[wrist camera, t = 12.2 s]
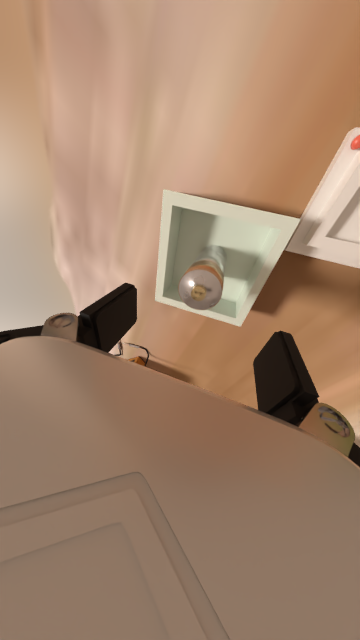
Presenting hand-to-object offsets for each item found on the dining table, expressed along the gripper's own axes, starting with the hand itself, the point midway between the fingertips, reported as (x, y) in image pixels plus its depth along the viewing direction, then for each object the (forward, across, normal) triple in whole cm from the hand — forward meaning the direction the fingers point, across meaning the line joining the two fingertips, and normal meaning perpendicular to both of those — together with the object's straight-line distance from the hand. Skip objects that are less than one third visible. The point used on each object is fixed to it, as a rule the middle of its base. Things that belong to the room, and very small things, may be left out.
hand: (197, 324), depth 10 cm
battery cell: (+13, +1, -1) cm, 13 cm away
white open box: (+14, +1, -1) cm, 14 cm away
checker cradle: (+14, -11, -8) cm, 20 cm away
